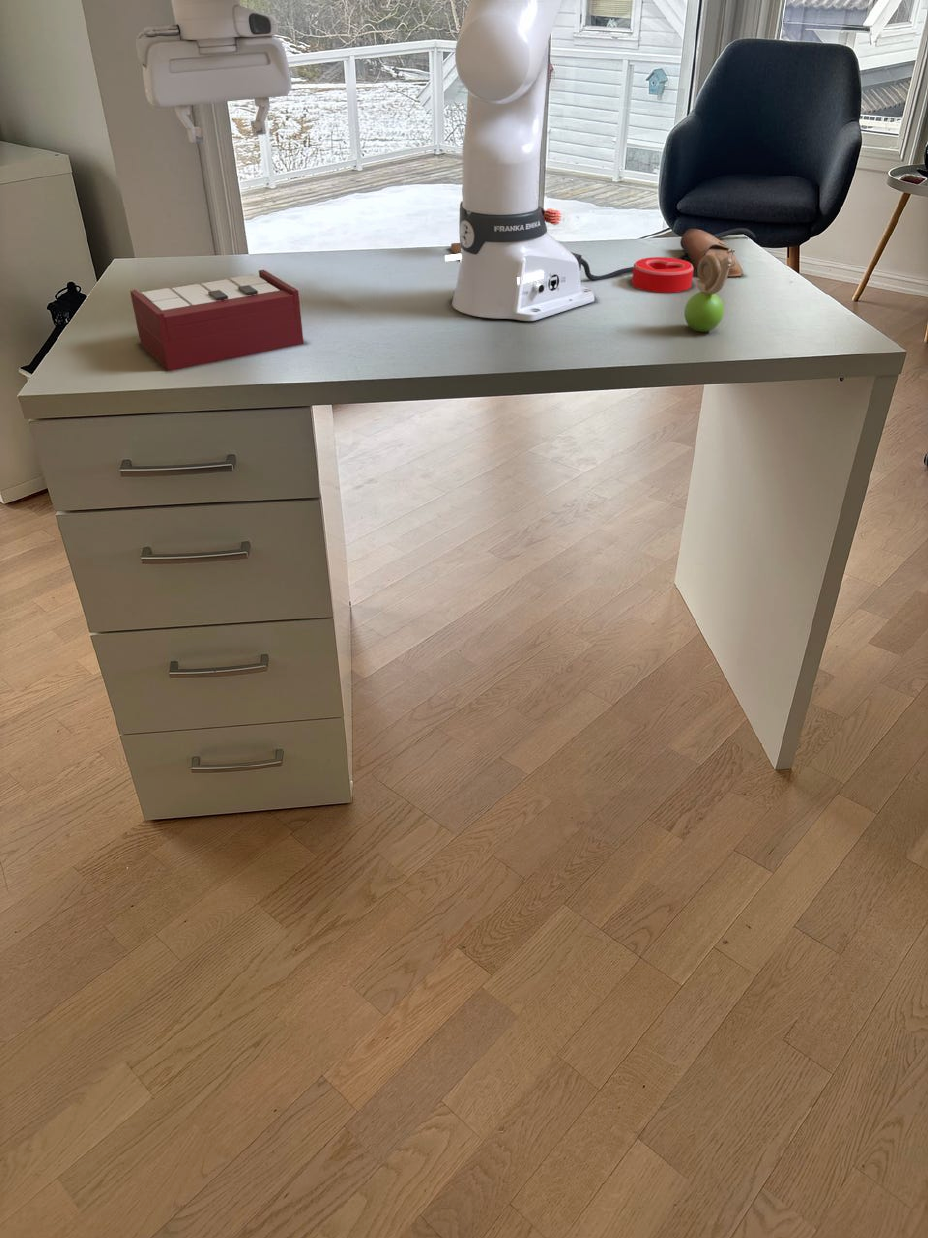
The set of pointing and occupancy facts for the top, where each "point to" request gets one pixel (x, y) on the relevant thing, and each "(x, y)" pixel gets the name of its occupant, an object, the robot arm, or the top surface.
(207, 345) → the toy piano
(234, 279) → the c key
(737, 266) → the sunglasses case
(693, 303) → the snail figurine
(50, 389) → the top surface
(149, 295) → the f key
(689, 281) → the decorative ornament
